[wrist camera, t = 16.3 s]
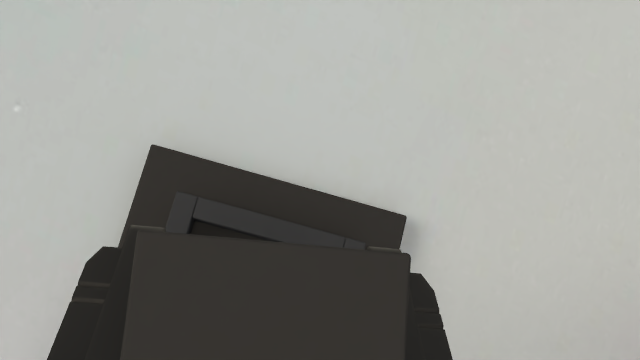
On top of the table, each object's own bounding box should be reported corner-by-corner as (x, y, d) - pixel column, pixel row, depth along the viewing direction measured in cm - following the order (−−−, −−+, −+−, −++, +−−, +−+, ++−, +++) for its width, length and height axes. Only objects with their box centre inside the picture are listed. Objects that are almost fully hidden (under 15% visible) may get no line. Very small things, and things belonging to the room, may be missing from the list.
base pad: (66, 417, 27) (49, 431, 24) (154, 148, 29) (146, 136, 27) (340, 481, 28) (350, 501, 25) (401, 217, 30) (416, 213, 28)
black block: (163, 412, 16) (95, 538, 8) (182, 250, 17) (136, 229, 9) (322, 420, 17) (397, 546, 9) (334, 262, 18) (411, 253, 10)
